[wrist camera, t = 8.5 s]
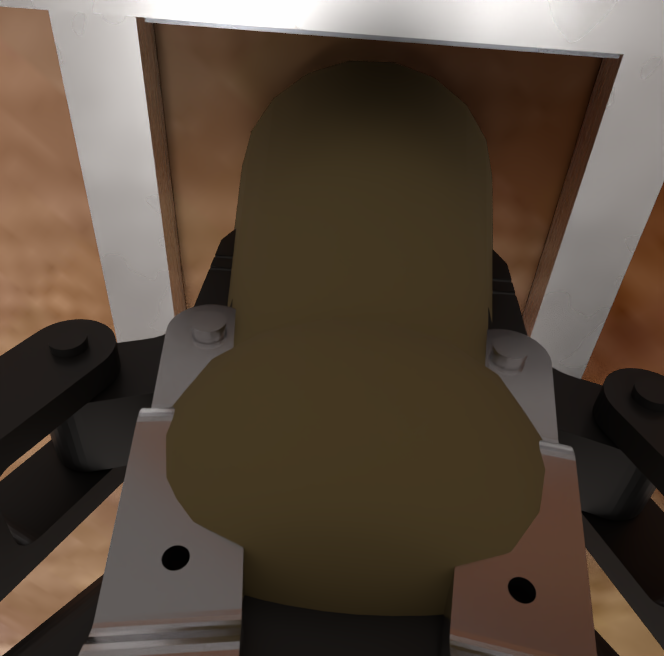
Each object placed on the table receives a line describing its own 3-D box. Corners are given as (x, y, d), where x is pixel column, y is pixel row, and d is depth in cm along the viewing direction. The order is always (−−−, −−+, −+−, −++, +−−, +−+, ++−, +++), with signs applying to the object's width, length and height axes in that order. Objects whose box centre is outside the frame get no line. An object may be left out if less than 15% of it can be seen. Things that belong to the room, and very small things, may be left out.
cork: (191, 183, 15) (-61, 632, 7) (374, -7, 12) (351, 350, 4) (358, 328, 18) (332, 791, 9) (542, 198, 15) (759, 695, 6)
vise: (779, -175, 12) (1029, -185, 7) (510, 510, 26) (538, 657, 21) (27, -227, 12) (-192, -269, 8) (159, 478, 26) (110, 616, 22)
